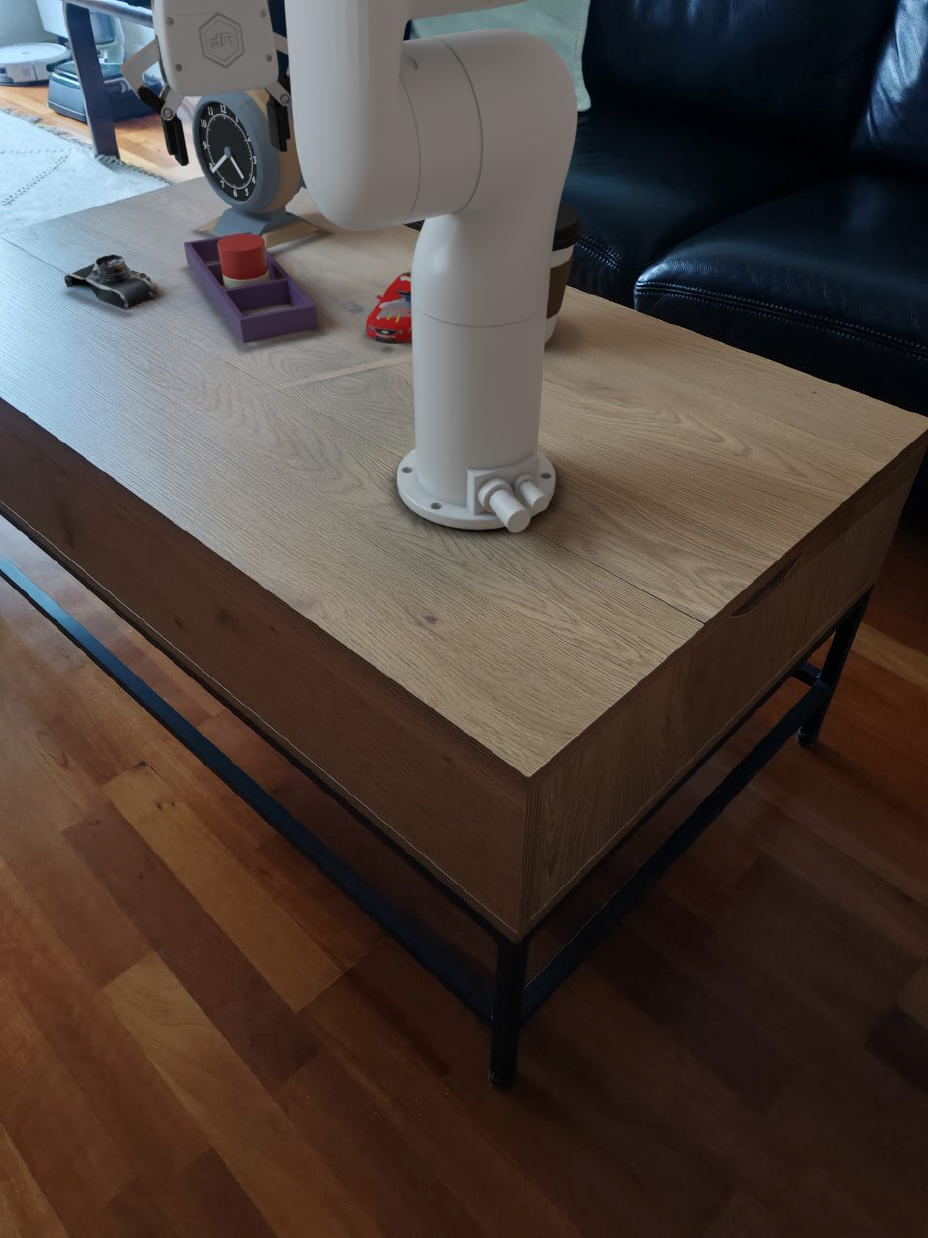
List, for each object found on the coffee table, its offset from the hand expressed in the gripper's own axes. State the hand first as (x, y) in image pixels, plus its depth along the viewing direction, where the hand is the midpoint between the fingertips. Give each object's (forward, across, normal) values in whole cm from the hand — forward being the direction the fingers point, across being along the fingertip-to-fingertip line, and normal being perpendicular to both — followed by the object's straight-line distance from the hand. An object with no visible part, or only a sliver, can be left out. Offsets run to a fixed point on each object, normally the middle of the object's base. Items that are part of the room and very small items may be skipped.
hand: (231, 155), depth 94 cm
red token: (+12, 0, +1) cm, 12 cm away
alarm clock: (+14, +7, +19) cm, 25 cm away
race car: (+15, +13, -11) cm, 23 cm away
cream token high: (+13, 0, +1) cm, 13 cm away
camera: (+15, -13, +8) cm, 21 cm away
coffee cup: (+15, +22, -19) cm, 33 cm away
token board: (+15, 0, +1) cm, 15 cm away
